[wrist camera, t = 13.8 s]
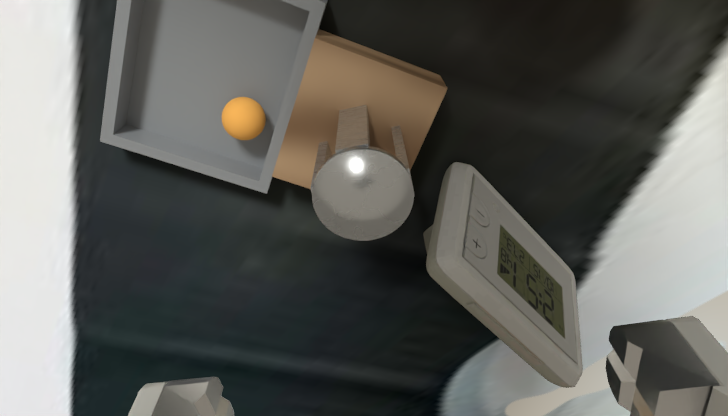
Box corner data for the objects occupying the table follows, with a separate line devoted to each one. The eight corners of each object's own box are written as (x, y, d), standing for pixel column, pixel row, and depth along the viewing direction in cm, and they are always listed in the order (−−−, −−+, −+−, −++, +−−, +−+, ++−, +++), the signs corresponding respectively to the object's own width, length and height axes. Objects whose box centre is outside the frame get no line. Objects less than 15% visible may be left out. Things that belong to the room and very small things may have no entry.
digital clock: (574, 278, 44) (633, 370, 34) (483, 320, 46) (514, 418, 37) (495, 132, 37) (541, 197, 28) (393, 190, 39) (403, 268, 30)
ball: (232, 85, 33) (275, 102, 34) (224, 95, 35) (264, 110, 37) (220, 128, 32) (263, 143, 34) (213, 134, 35) (253, 148, 36)
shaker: (394, 98, 32) (404, 140, 25) (409, 174, 35) (421, 230, 28) (311, 116, 33) (299, 162, 26) (332, 190, 35) (326, 248, 29)
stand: (318, 28, 33) (314, 38, 30) (440, 75, 35) (447, 88, 32) (278, 157, 38) (271, 176, 35) (387, 193, 39) (390, 214, 36)
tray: (143, -75, 30) (126, -76, 28) (328, -1, 32) (326, 3, 30) (115, 129, 37) (99, 141, 34) (271, 179, 39) (266, 193, 37)
